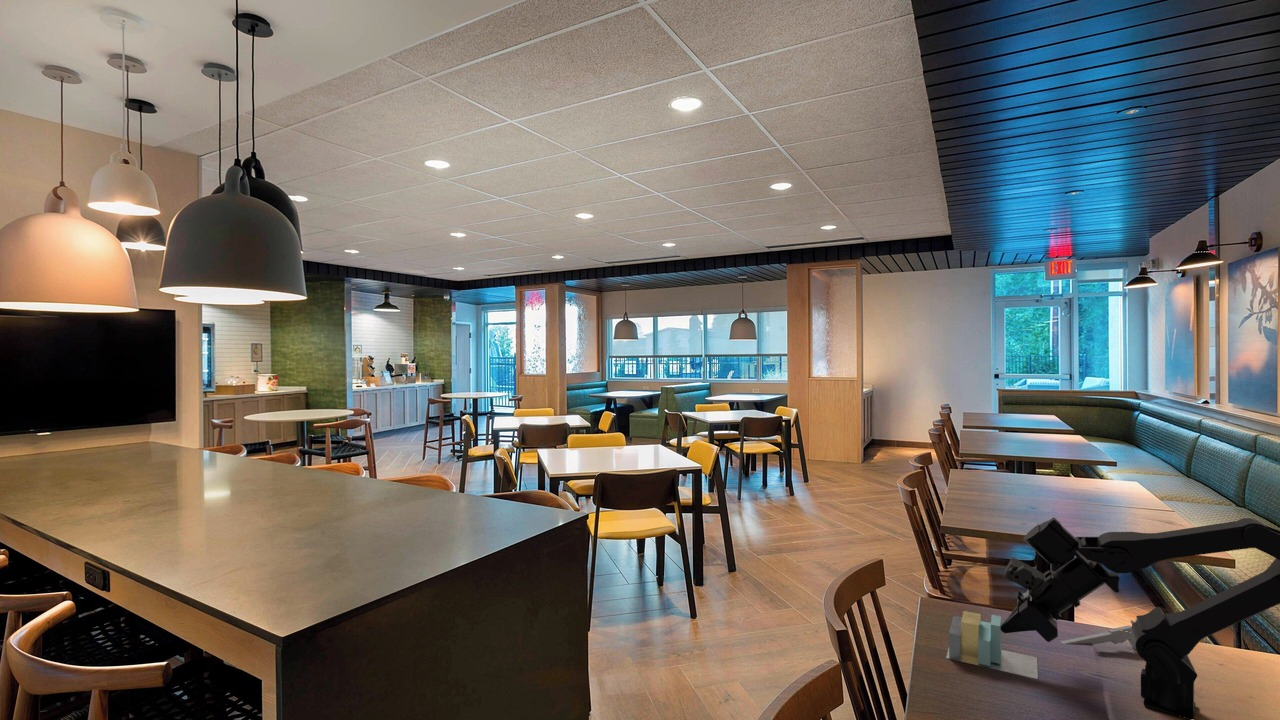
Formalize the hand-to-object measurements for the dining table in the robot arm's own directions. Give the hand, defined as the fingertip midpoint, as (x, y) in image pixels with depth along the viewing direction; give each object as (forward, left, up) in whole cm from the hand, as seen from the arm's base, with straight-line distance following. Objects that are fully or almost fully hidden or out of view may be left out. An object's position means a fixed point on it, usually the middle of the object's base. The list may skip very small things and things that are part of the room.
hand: (1002, 630), depth 117 cm
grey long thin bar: (-12, -21, -8) cm, 25 cm away
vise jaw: (+2, 0, -5) cm, 6 cm away
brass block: (+5, +1, -6) cm, 8 cm away
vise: (+2, 0, -7) cm, 8 cm away
